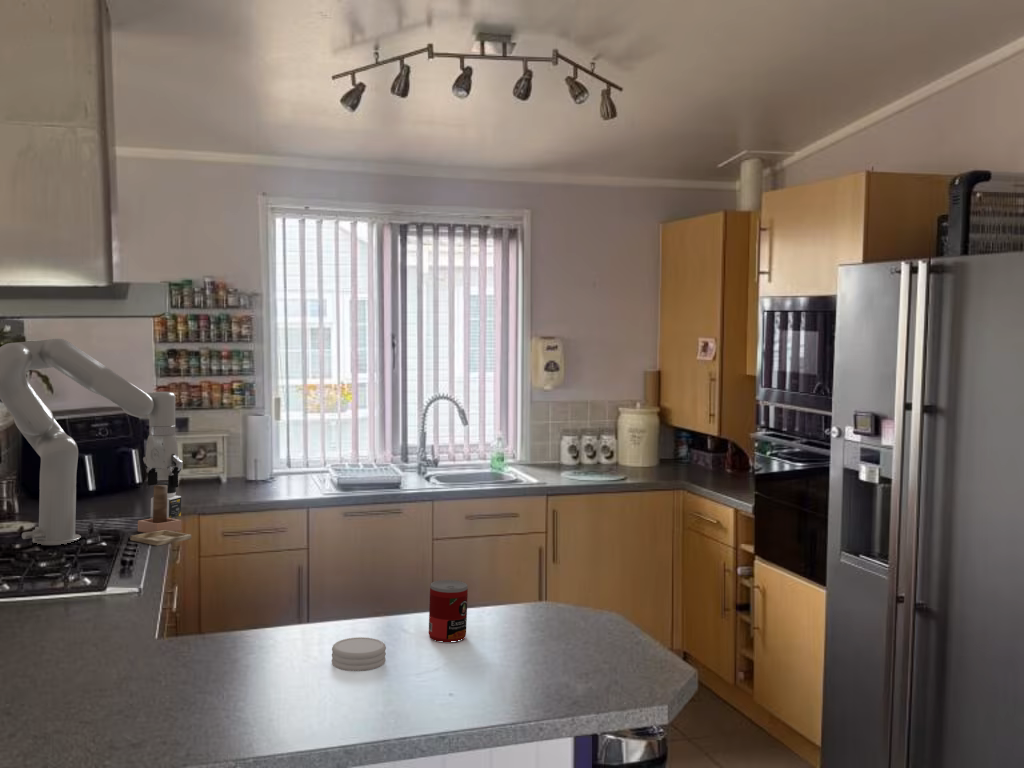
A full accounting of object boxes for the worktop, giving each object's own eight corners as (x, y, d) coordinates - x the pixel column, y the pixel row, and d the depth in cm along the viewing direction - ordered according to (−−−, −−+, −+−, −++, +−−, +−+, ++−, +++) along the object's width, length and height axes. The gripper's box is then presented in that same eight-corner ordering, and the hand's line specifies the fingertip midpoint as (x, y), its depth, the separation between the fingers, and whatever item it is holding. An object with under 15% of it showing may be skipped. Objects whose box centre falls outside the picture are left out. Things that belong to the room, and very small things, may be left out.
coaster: (327, 672, 160) (328, 653, 160) (335, 653, 170) (336, 635, 170) (382, 673, 160) (383, 654, 160) (387, 654, 170) (388, 636, 170)
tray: (157, 548, 253) (157, 541, 253) (130, 542, 259) (130, 535, 259) (191, 541, 264) (191, 534, 264) (164, 536, 270) (164, 529, 270)
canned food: (452, 646, 176) (453, 591, 176) (420, 638, 180) (422, 585, 180) (473, 636, 183) (475, 583, 182) (442, 629, 187) (444, 577, 187)
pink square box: (156, 537, 268) (157, 524, 268) (137, 533, 272) (137, 520, 272) (181, 532, 276) (181, 520, 275) (162, 529, 280) (162, 516, 280)
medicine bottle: (169, 520, 295) (169, 484, 295) (150, 518, 297) (150, 483, 296) (181, 516, 302) (182, 481, 302) (162, 515, 304) (163, 480, 303)
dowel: (158, 532, 271) (159, 487, 271) (149, 530, 273) (150, 485, 273) (169, 530, 275) (170, 485, 274) (160, 528, 277) (161, 484, 276)
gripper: (134, 430, 274) (134, 485, 275) (170, 434, 266) (171, 490, 266) (154, 429, 281) (154, 482, 282) (191, 432, 272) (191, 487, 273)
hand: (162, 486), depth 274 cm, fingers open, 9 cm apart
